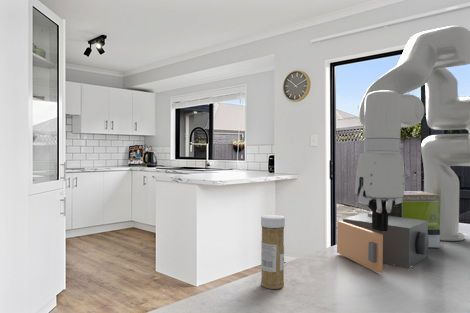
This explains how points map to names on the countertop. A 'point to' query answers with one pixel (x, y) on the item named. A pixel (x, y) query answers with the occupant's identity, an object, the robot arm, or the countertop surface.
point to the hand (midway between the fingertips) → (379, 229)
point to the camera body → (398, 238)
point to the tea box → (421, 212)
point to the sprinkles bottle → (272, 251)
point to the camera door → (360, 245)
